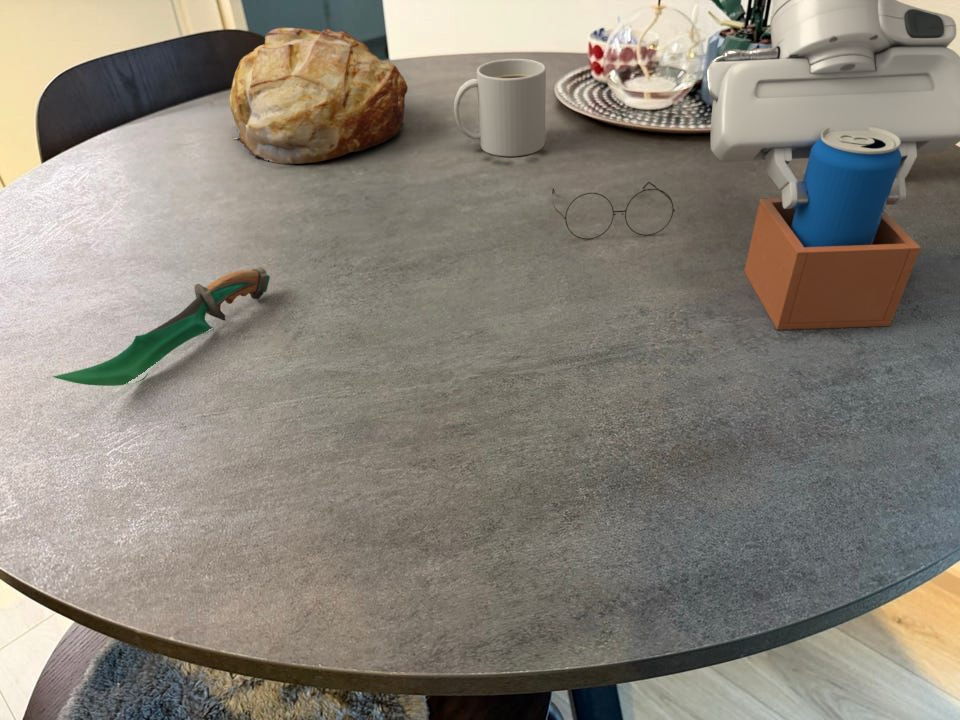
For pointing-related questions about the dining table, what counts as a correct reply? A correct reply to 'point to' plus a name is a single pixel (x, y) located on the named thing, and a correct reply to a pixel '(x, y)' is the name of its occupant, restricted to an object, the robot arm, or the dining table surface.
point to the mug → (508, 107)
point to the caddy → (827, 274)
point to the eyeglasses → (618, 211)
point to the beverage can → (847, 187)
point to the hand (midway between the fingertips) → (844, 204)
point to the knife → (173, 330)
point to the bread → (315, 97)
